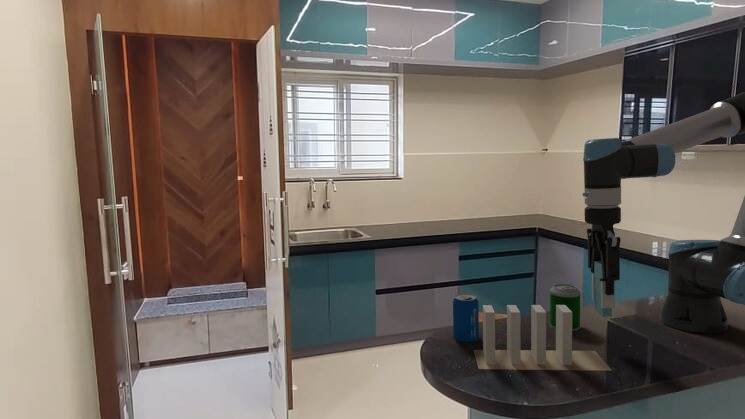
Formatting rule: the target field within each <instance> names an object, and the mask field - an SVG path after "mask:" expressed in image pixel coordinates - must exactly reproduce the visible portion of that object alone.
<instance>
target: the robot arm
mask: <svg viewBox="0 0 745 419" xmlns="http://www.w3.org/2000/svg"><path fill="white" fill-rule="evenodd" d="M742 134H745V91H743V92H741V93H738V94H736V95H733V96H731V97H729V98H726V99H724V100H721V101H718V102H716V103H714V104H713V105H711V107H710V108H709V109H707V110H705V111H702V112H699V113H697V114H694V115H692V116H689V117H686V118H683V119H681V120H678V121H676V122H672V123H670V124H666V125H664V126H661V127H659V128H656V129H653V130H650V131H647V132H645V133H643V134H640V135H636V136H634V137H632V138H629V139H626V140H624V141H621V139H620V138H619V137H612V138H611V137H610V138H609V137H608V138H597V139H596V138H595V139H589V140H587V141H585V143H584V149H583V157H582V159H583V160H582V161H583V180H584V181H583V182H584V184H583V185H584V192H583V193H581V194H582V197H584V204H585V207H584V222H585V224H589V225H591V228H586V233H587V235H586V236H587V267H588V269H590V273H591V296H592V297H591V300H592V301H594V302H595V283H594V261H601V265H602V274H603V279H600V281H601V307H602V308H612V309H615V308H616V281H620V279H621V276H620V275H621V274H620V272H621V271H620V270H621V268H620V267H621V266H620V265H621V264H620V246H621V237H620V236H616V234H615V229H614V225H618V224H620V223H621V221H622V208H621V207H620V205H621V204H622V187H621V186H622V180H625V179H641V178H642V179H643V178H658V177H664V176H667V175H669V174H670V173H672V171H673V170H674V168H675V166H676V158H677V157H676V154H677V153H680V152H683V151H685V150H688V149H691V148H693V147H697V146H699V145H701V144H704V143H705V144H706V143H707V142H709V141H712V140H716V139H718V138H721V137H722V138H725V139H728V138H733V137H735V136H738V135H742ZM722 299H725V300H728V301H730V302H731V303H735V304H739V305H743V306H745V195H744V197H743V200H742V202H741V206H740V207H739V211H738V213H737V217H736V219H735V222H734V225H733V227H732V230H731V232H730V234H729V236H726V237H724V238H722V239H720V240H717V239H681V240H674V241H673V242H671V243H670V245H669V251H668V284H667V295H666V296H665V298H664V302H663V304H662V306H661V308H660V311H659V320H660V322H662V323H663V324H664V325H667V326H668V327H671V328H674V329H677V330H681V331H686V332H691V333H699V334H720V333H725V332H726V331H728V328H729V327H728V326H729V320H728V316H727V314H726V312H725V309H724V308H725V307H724V305H723V303H722Z"/></svg>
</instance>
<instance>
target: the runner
mask: <svg viewBox="0 0 745 419" xmlns="http://www.w3.org/2000/svg"><path fill="white" fill-rule="evenodd" d="M473 353H474V357H475V360H476V365H477V368H478V370H508V371H509V370H512V371H514V370H515V371H516V370H517V371H519V370H520V371H521V370H522V371H526V370H528V371H533V370H534V371H592V372H593V371H595V372H596V371H599V372H601V371H602V372H603V371H604V372H605V371H606V372H607V371H609V372H610V371H613V369H612V368H611V367H610V366H609V365H608V364H607V363H606V361H605V360H604V359H603V358H602V357H601V356H600V355H599V354H598V352H596V350H572V365H562V363H561V362H560V360H559V359H558V357H557V356H556V349H555V350H552V349H551V350H547V349H546V365H539V364H536V362H535V360H534V359H533V357H532V355H531V349H530V350H527V349H526V350H525V349H524V350H523V349H520V357H521V364H511V362H510V360H509V358H508V355H507V349H495V364H486V361H485V358H484V355H483V349H473Z"/></svg>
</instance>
